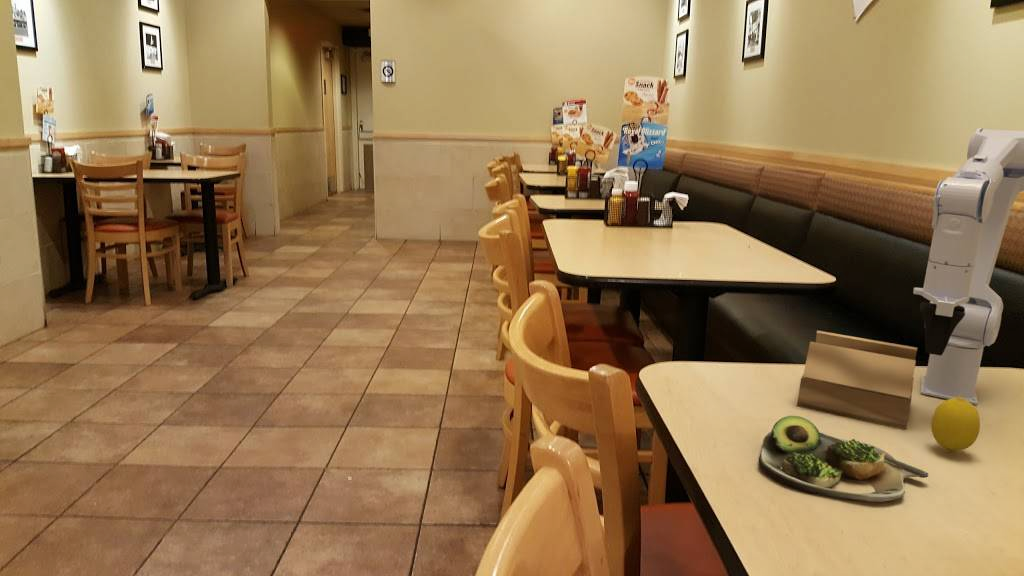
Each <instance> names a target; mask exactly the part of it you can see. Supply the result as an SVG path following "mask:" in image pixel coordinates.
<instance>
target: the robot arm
mask: <svg viewBox="0 0 1024 576" xmlns="http://www.w3.org/2000/svg"><path fill="white" fill-rule="evenodd" d="M1022 192H1024V130H1007V129H1005V130H1004V129H987V128H986V129H984V128H982V127H979V128H976V129H975V130H974V131H973V132H972V134H971V135H970V139H969V142H968V147H967V155H966V160H965V161H964V162H962V164H961V166H960V167H959V168H958V169H957V171H956V172H955V173H954V174H953V176H948V177H946V179H945V180H943V179H941V180H939V182H938V184H937V186H936V188H935V192H934V196H933V204H932V208H933V209H932V223H931V228H932V229H933V233H932V238H931V243H930V244H931V245H930V250H929V255H928V260H927V267H926V273H925V276H924V281H923V282H924V283H923V287H913V292H912V293H913V294H914V295H919V296H922V297H923V298H924V299H926V300H928V301H930V302H926V301H923V302H920V303H919V304H920V306H919V307H920V308H919V309H920V311H921V315H922V318H923V322H924V330H925V331H924V332H925V333H924V348H925V353H926V354H929V357H928V363H927V368H926V374H925V375H922V376H921V384H920V386H921V387H920V393H921V394H922V395H926V396H931V397H936V398H941V399H946V400H948V399H953V398H957V397H963V398H964V399H965V400H966V401H968V402H969V403H971V404H972V405H978V403H979V402H978V395H977V387H976V385H977V381H978V377H979V373H980V366H981V363H982V362H981V361H982V357H983V353H984V348H985V347H986V346H987V347H990V346H991V345H992V344H994V343H995V342H996V340H997V337H998V334H999V331H1000V327H1001V322H1002V313H1003V310H1004V303H1003V299H1002V297H1000V296H999V295H998V293H996V292H995V291H994V290H993V289H992V288H991V287H990V283H991V278H992V275H993V271H994V269H995V265H996V261H997V258H998V255H999V251H1000V248H1001V244H1002V242H1003V237H1004V234H1005V230H1006V227H1007V225H1008V220H1009V217H1010V213H1011V210H1012V207H1013V205H1014V203H1015V202H1016V199H1017V198H1018V197H1019V196H1018V195H1019V194H1020V193H1022Z"/></svg>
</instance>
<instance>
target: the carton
mask: <svg viewBox="0 0 1024 576" xmlns="http://www.w3.org/2000/svg"><path fill="white" fill-rule="evenodd" d="M913 387H914V376H913V380H912V386H911V392H910V397H909V398H904V397H899V396H894V395H889V394H884V393H879V392H874V391H869V390H864V389H859V388H854V387H849V386H844V385H839V384H834V383H829V382H825V381H820V380H815V379H810V378H805V377H803V375H801V378H800V383H799V389H798V394H797V395H798V397H797V404H796V406H797V407H802V408H805V409H809V410H814V411H819V412H822V413H823V412H824V413H828V414H833V415H837V416H841V417H846V418H851V419H855V420H859V421H865V422H869V423H872V424H878V425H882V426H886V427H892V428H895V429H900V430H905V431H906V430H907V426H908V421H909V420H908V419H909V414H910V411H911V405H912V404H911V403H912V396H913Z"/></svg>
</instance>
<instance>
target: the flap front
mask: <svg viewBox="0 0 1024 576" xmlns="http://www.w3.org/2000/svg"><path fill="white" fill-rule="evenodd" d="M916 362H917V361H916V359H915V360H910V359H905V358H899V357H894V356H888V355H883V354H877V353H872V352H866V351H860V350H855V349H849V348H844V347H838V346H833V345H827V344H821V343H816V341H810V342H809V346H808V351H807V356H806V360H805V365H804V370H803V374H802V376H803V377H805V378H810V379H815V380H820V381H825V382H829V383H834V384H839V385H844V386H849V387H854V388H859V389H864V390H869V391H874V392H879V393H884V394H889V395H894V396H899V397H904V398H909V397H910V392H911V386H912V380H913V377H914V374H915V368H916ZM913 381H914V380H913Z"/></svg>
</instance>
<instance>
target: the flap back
mask: <svg viewBox="0 0 1024 576" xmlns="http://www.w3.org/2000/svg"><path fill="white" fill-rule="evenodd" d="M815 342H816V343H821V344H827V345H833V346H838V347H844V348H849V349H855V350H860V351H866V352H872V353H877V354H883V355H888V356H894V357H899V358H905V359H910V360H916V356H917V352H918V347H915V346H910V345H904V344H897V343H893V342H892V343H890V342H887V341H886V342H885V341H881V340H876V339H875V340H873V339H869V338H863V337H857V336H852V335H844V334H840V333H834V332H827V331H823V330H816V337H815Z"/></svg>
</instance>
